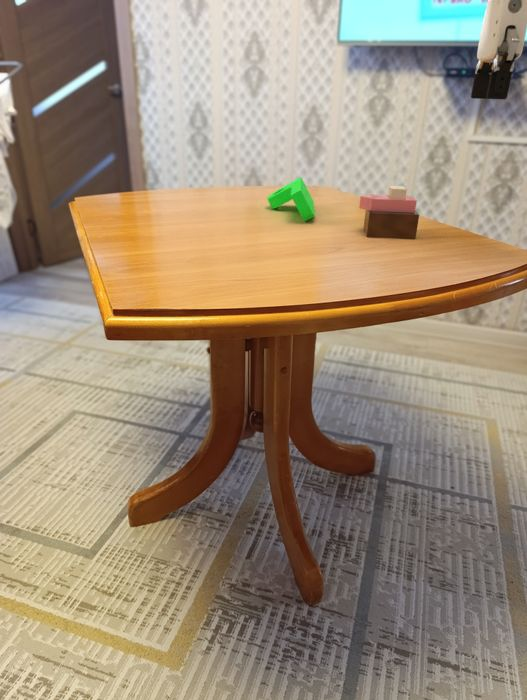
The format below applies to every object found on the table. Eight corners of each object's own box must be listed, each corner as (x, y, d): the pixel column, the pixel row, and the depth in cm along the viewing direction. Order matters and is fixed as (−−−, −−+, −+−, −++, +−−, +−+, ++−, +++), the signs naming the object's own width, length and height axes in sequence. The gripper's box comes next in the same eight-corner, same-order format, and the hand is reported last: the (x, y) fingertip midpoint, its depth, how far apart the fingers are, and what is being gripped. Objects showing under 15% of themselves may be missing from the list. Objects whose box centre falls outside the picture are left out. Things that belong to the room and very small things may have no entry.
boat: (410, 208, 109) (414, 186, 107) (414, 212, 104) (418, 190, 102) (358, 206, 109) (360, 184, 107) (360, 210, 105) (362, 188, 103)
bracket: (280, 220, 135) (267, 195, 132) (314, 202, 132) (301, 176, 129) (277, 239, 117) (261, 210, 114) (315, 218, 114) (300, 189, 111)
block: (409, 229, 112) (412, 206, 110) (415, 239, 105) (419, 214, 103) (363, 227, 113) (366, 204, 111) (366, 236, 106) (369, 212, 104)
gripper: (557, -31, 74) (527, 99, 82) (516, -10, 90) (494, 98, 97) (504, -31, 75) (479, 98, 83) (472, -10, 90) (454, 97, 98)
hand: (487, 98), depth 90 cm, fingers open, 9 cm apart
